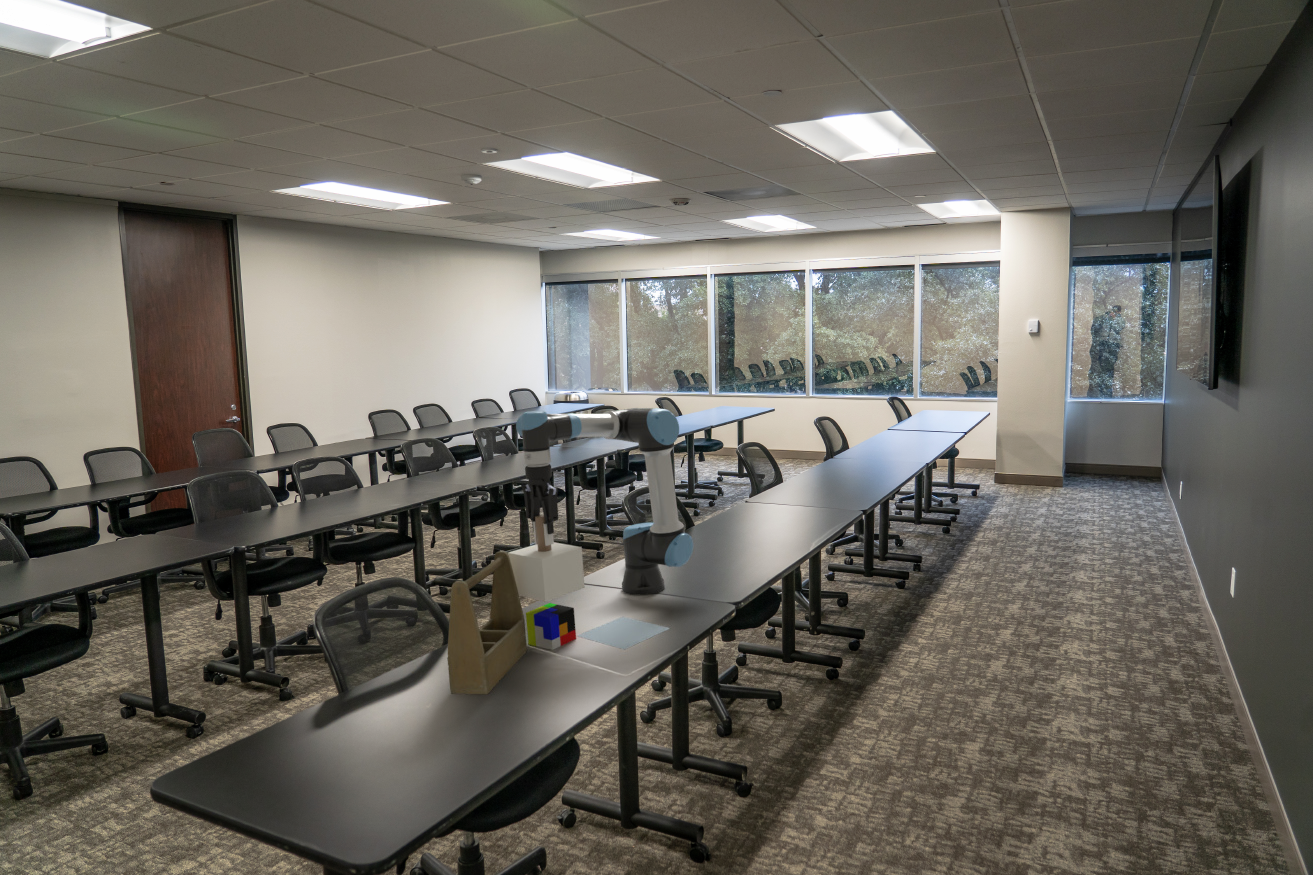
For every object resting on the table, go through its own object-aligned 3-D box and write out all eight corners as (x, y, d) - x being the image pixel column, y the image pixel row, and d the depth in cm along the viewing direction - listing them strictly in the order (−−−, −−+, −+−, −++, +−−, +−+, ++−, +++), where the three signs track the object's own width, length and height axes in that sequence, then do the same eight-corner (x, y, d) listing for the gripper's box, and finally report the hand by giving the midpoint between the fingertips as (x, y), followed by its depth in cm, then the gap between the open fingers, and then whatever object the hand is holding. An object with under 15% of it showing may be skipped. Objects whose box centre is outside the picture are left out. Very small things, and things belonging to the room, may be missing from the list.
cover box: (550, 580, 255) (544, 508, 252) (584, 587, 245) (579, 513, 242) (511, 593, 244) (504, 519, 241) (545, 601, 234) (538, 524, 231)
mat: (622, 617, 264) (622, 616, 264) (670, 629, 251) (670, 628, 251) (576, 637, 250) (576, 635, 250) (624, 650, 236) (624, 649, 236)
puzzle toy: (552, 651, 240) (550, 617, 238) (528, 645, 246) (525, 612, 244) (576, 640, 247) (573, 607, 246) (552, 634, 253) (549, 602, 252)
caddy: (488, 695, 212) (477, 581, 209) (449, 693, 214) (438, 581, 211) (528, 651, 241) (519, 550, 237) (493, 651, 243) (484, 551, 239)
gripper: (509, 465, 243) (515, 543, 246) (547, 468, 232) (553, 550, 234) (529, 461, 248) (535, 537, 251) (567, 464, 237) (573, 544, 240)
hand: (544, 543), depth 243 cm, fingers closed on cover box, 4 cm apart
